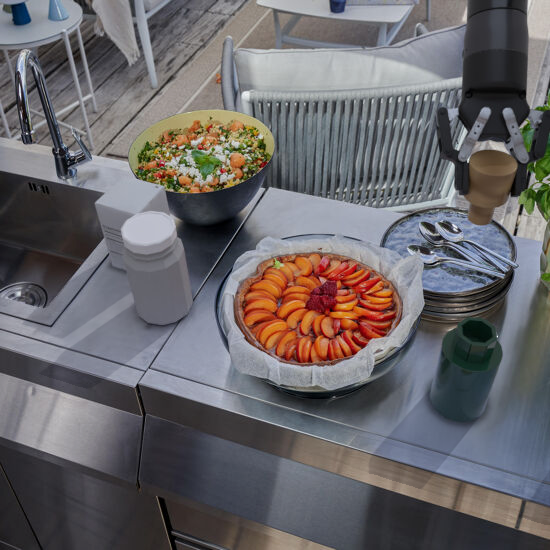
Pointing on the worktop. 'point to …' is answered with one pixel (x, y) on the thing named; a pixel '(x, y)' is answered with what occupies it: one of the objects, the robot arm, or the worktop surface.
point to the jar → (156, 268)
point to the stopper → (489, 183)
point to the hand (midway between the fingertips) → (489, 194)
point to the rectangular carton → (127, 210)
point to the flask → (466, 370)
